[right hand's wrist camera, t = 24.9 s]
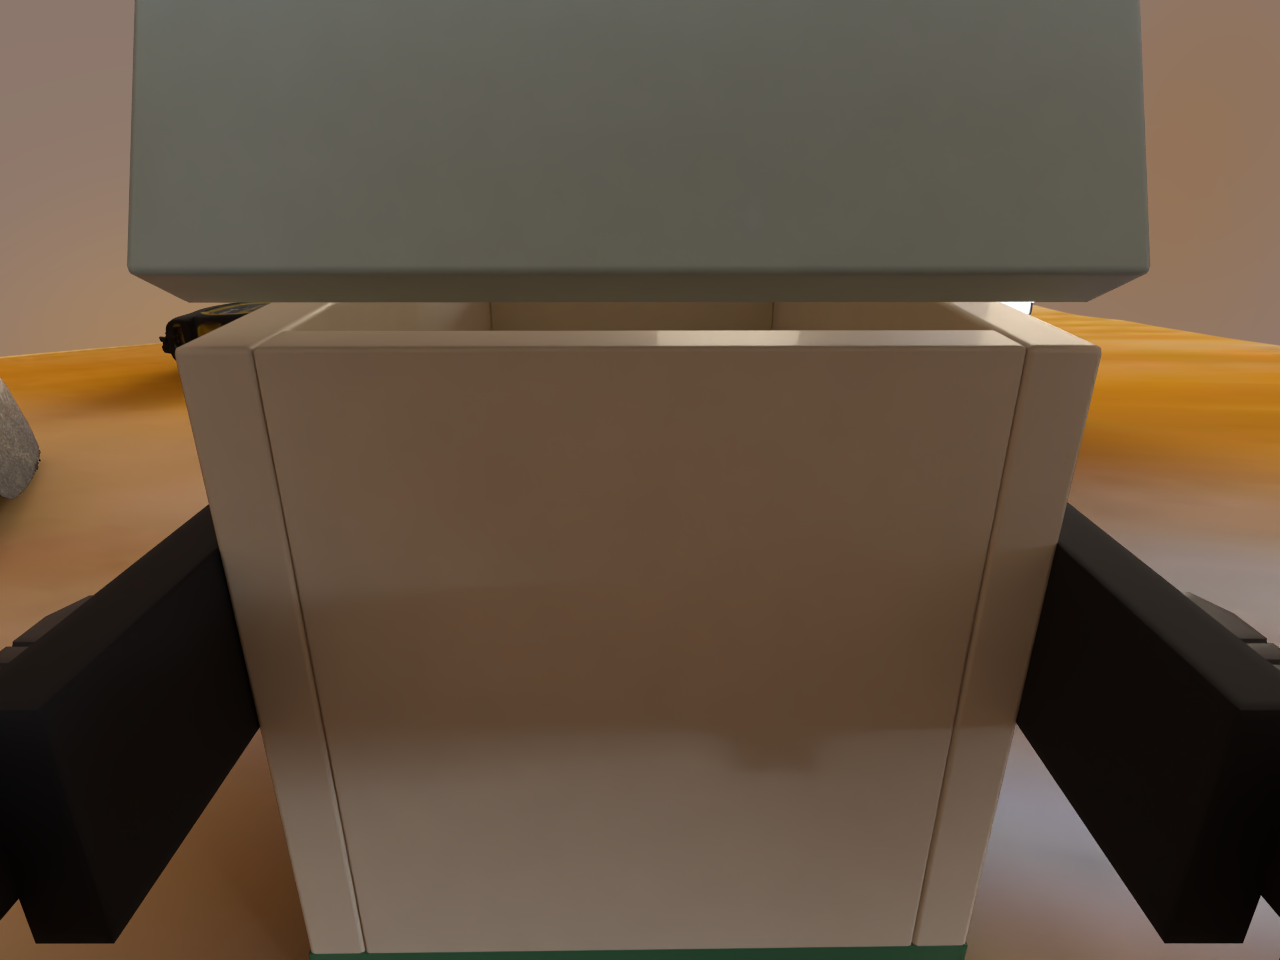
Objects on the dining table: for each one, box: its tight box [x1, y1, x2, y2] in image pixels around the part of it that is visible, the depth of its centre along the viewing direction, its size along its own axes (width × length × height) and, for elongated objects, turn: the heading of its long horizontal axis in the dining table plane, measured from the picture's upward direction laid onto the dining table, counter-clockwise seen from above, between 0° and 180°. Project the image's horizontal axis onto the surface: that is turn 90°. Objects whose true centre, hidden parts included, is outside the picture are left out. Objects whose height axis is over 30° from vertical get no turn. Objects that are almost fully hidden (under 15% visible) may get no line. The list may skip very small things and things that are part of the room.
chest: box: [175, 302, 1101, 960], centre depth 18 cm, size 16×10×10 cm, turn 1°
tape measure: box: [159, 302, 272, 360], centre depth 52 cm, size 7×7×4 cm
